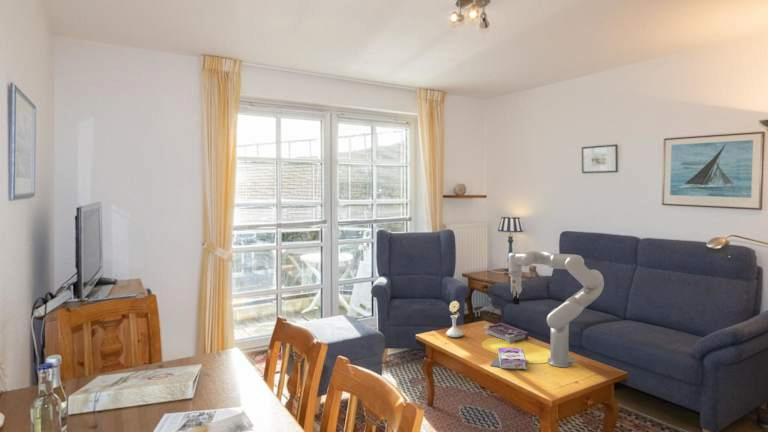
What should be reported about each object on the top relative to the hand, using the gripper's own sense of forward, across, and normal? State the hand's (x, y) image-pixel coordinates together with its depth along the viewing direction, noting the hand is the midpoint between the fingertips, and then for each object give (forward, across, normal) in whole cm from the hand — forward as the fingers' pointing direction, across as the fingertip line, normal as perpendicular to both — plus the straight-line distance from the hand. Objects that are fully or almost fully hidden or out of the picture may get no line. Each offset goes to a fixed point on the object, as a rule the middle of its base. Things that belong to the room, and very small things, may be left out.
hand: (516, 304), depth 262 cm
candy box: (+28, -6, +3) cm, 28 cm away
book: (+31, +34, +13) cm, 48 cm away
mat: (+31, -16, +5) cm, 35 cm away
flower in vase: (+30, +21, +44) cm, 58 cm away
